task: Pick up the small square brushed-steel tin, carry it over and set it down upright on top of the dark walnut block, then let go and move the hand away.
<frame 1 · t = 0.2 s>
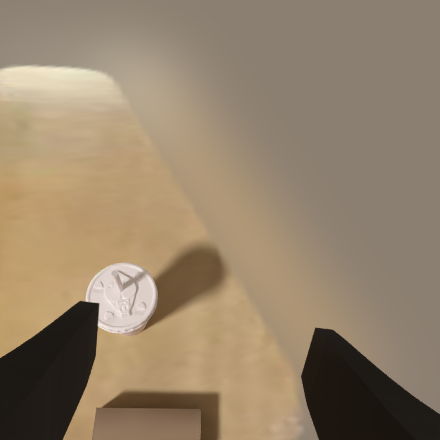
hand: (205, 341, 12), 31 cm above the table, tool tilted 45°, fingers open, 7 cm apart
smoothie: (131, 319, 43), on the table
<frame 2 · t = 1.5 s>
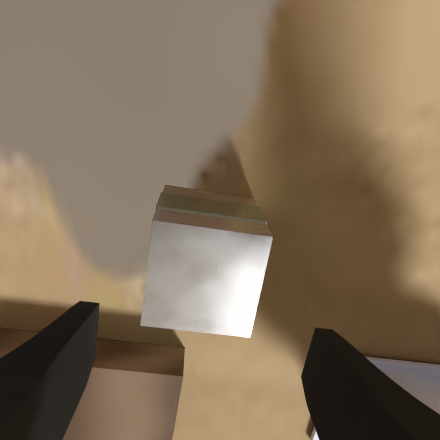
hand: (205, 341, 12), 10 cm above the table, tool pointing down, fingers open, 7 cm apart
walnut block: (87, 394, 26), on the table
steel tin: (203, 232, 22), on the table
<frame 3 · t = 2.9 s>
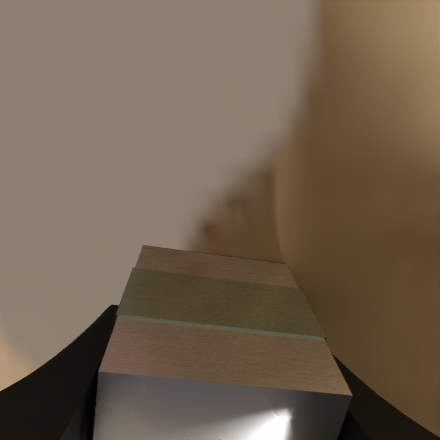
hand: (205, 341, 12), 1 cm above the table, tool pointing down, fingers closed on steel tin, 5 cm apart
steel tin: (205, 316, 14), on the table, touching gripper
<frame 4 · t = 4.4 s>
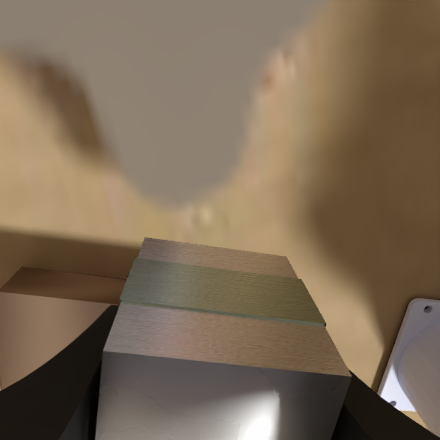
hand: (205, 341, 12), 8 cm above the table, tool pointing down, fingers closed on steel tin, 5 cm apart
walnut block: (128, 349, 23), on the table
steel tin: (205, 309, 14), point 7 cm above the table, touching gripper
when the fingers open (5 cm above the table, at t = 6.1 s): steel tin drops 1 cm, resting on walnut block.
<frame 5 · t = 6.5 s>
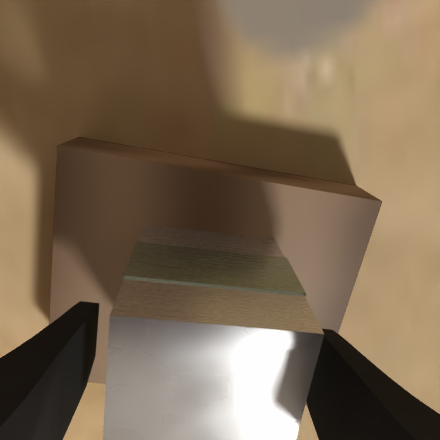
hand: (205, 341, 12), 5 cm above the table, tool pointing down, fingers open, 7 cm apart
walnut block: (203, 262, 18), on the table, touching steel tin
steel tin: (202, 289, 15), point 2 cm above the table, touching walnut block
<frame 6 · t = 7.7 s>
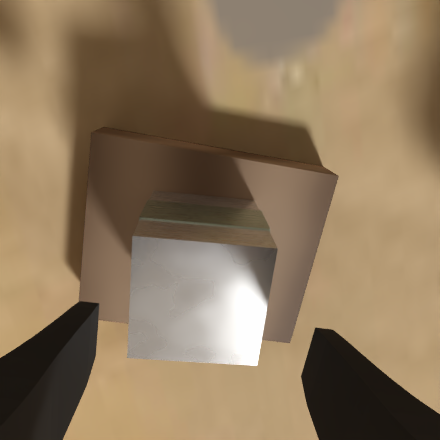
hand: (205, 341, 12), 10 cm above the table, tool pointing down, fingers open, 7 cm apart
walnut block: (201, 229, 22), on the table
steel tin: (199, 242, 19), point 2 cm above the table
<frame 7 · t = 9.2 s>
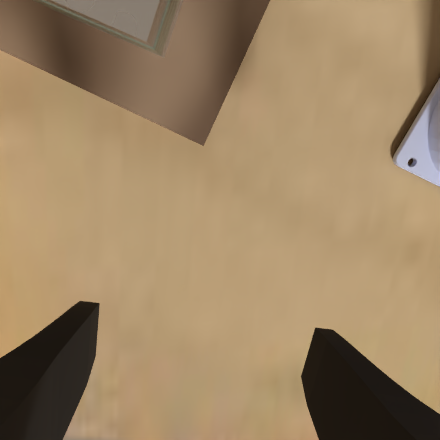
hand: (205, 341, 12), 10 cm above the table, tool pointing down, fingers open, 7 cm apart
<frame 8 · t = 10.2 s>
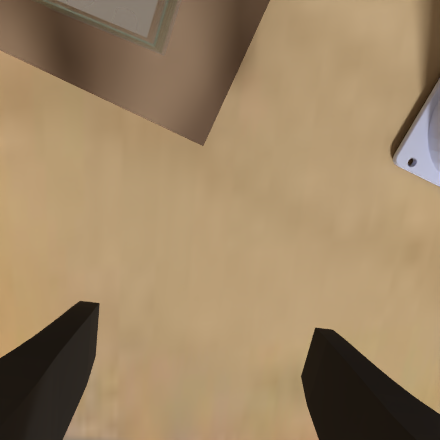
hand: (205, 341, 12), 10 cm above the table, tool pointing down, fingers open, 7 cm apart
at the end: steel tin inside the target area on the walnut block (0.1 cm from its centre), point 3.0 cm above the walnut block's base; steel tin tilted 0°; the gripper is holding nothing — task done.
